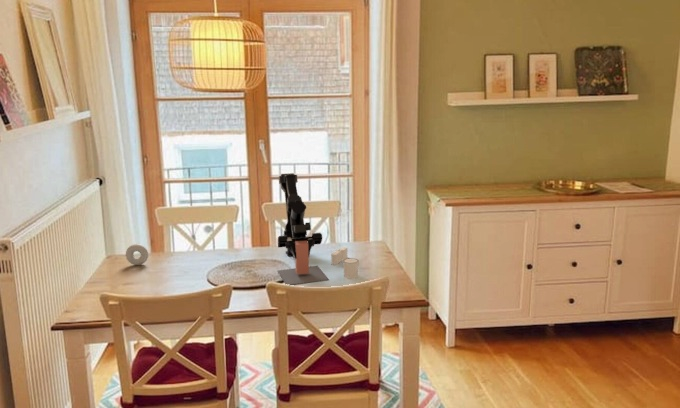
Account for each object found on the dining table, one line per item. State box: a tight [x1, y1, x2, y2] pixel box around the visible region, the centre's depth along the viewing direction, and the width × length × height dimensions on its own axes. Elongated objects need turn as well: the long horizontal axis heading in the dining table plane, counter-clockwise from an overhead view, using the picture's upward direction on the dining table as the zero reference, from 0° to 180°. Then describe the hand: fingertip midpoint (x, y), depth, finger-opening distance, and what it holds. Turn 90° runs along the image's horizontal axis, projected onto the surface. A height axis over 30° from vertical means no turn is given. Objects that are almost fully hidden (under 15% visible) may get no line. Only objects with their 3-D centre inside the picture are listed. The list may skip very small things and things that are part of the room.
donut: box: [125, 243, 149, 266], centre depth 265 cm, size 10×4×10 cm, turn 95°
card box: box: [294, 240, 310, 274], centre depth 246 cm, size 5×5×13 cm
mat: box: [277, 265, 330, 286], centre depth 248 cm, size 18×18×1 cm
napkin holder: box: [330, 246, 348, 266], centre depth 265 cm, size 15×11×6 cm
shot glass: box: [342, 257, 360, 280], centre depth 245 cm, size 7×7×7 cm
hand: (302, 257), depth 245 cm, fingers closed on card box, 5 cm apart
